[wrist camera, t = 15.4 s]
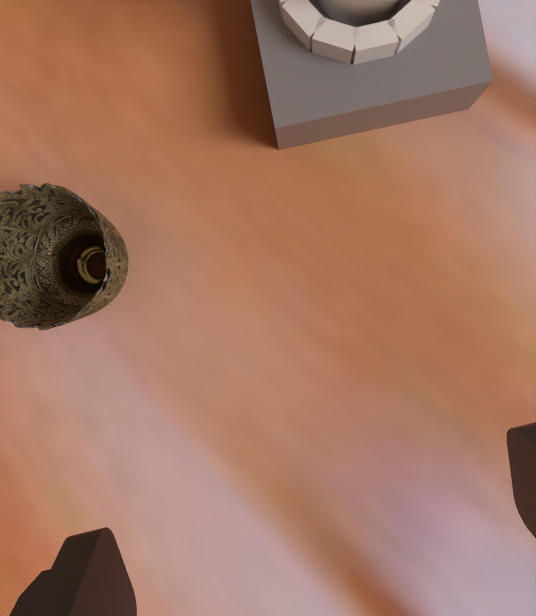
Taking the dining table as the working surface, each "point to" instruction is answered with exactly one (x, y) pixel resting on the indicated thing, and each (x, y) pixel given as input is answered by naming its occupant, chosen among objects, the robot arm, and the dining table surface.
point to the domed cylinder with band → (359, 10)
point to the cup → (55, 257)
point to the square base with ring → (368, 66)
